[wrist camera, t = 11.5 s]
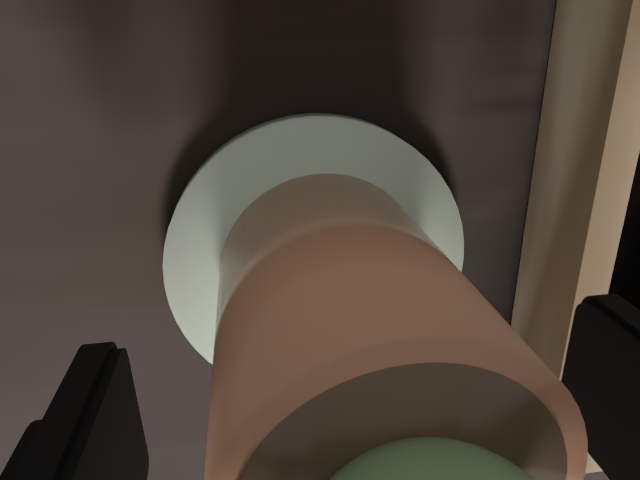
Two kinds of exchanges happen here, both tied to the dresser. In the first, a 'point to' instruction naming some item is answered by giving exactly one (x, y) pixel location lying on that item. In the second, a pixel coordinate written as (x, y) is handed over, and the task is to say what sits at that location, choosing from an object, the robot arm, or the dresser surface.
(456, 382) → the terracotta pot
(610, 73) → the wooden frame
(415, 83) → the dresser surface
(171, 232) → the pale mint disc
